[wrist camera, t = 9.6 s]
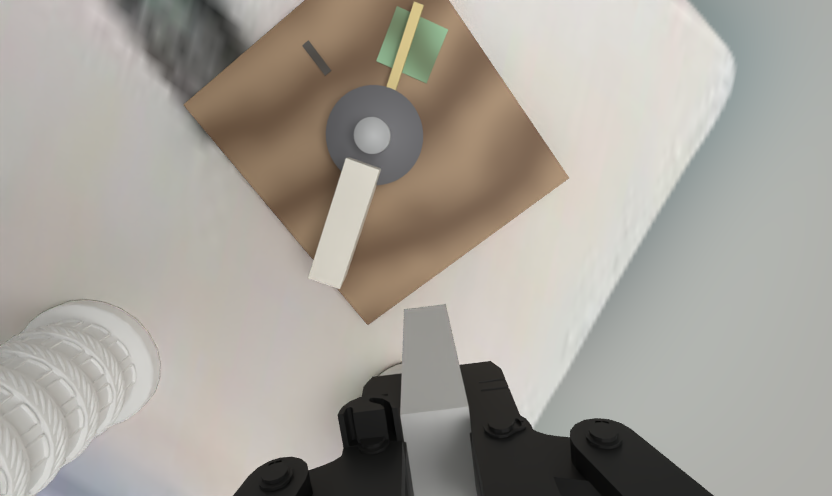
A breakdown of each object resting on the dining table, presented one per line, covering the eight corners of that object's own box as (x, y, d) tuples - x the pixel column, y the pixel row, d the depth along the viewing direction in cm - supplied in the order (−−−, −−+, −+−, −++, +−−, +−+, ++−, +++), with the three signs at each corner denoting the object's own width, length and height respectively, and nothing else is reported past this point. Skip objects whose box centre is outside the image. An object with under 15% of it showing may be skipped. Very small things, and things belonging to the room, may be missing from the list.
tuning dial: (371, -13, 32) (366, -33, 28) (464, 24, 33) (471, 8, 29) (289, 256, 36) (275, 269, 32) (373, 284, 37) (369, 300, 33)
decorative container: (58, 275, 39) (-233, 381, 21) (182, 341, 40) (6, 492, 23) (8, 381, 41) (-295, 558, 23) (128, 440, 42) (-72, 649, 25)
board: (195, 107, 36) (182, 104, 34) (396, -65, 34) (395, -79, 31) (369, 316, 40) (367, 325, 38) (560, 176, 37) (569, 178, 35)
